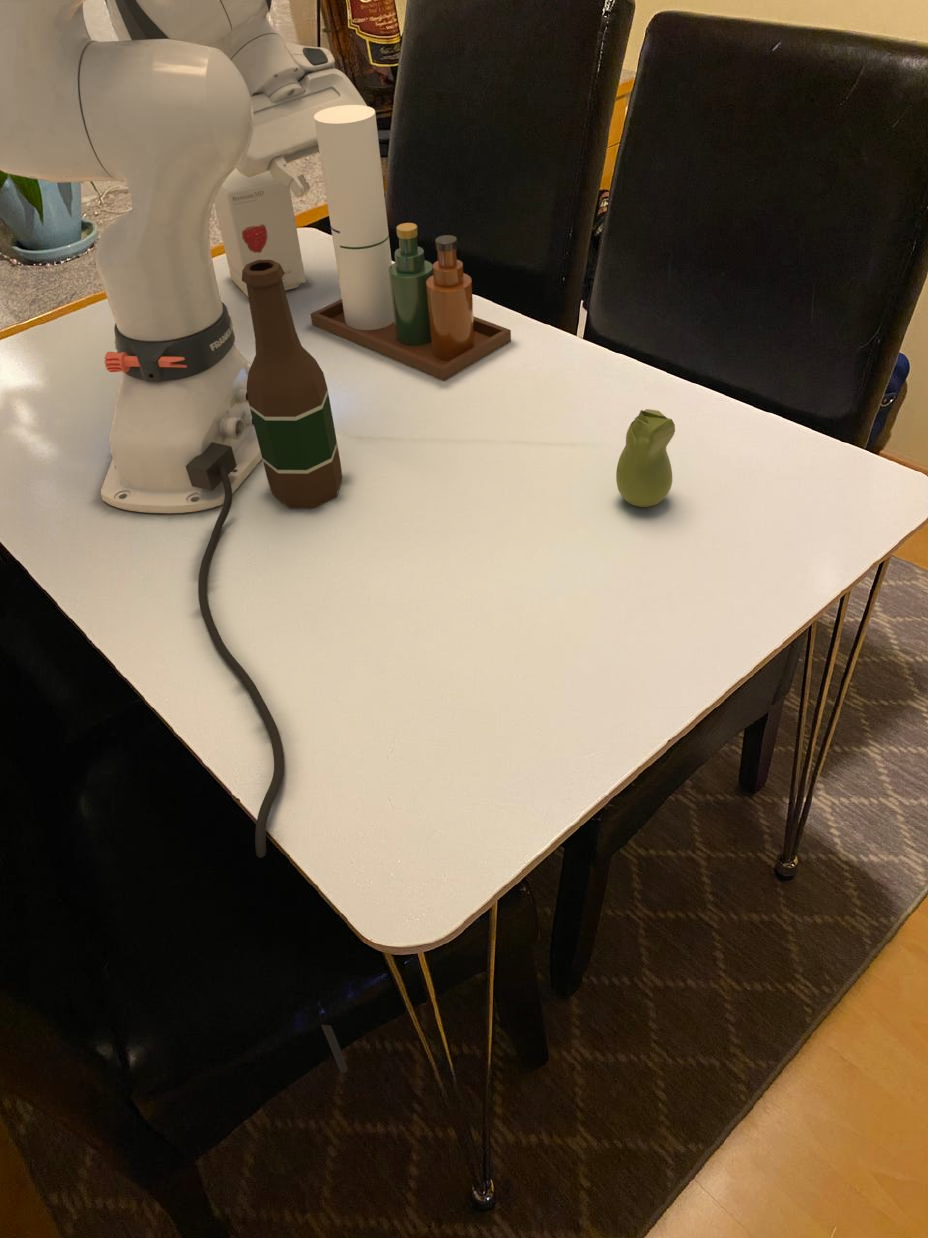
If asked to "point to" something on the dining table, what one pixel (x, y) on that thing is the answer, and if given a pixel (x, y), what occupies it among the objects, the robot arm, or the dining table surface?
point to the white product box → (258, 226)
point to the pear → (646, 460)
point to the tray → (414, 356)
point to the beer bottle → (288, 398)
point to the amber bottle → (450, 303)
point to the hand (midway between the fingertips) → (333, 181)
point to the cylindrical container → (357, 212)
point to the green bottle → (410, 288)
